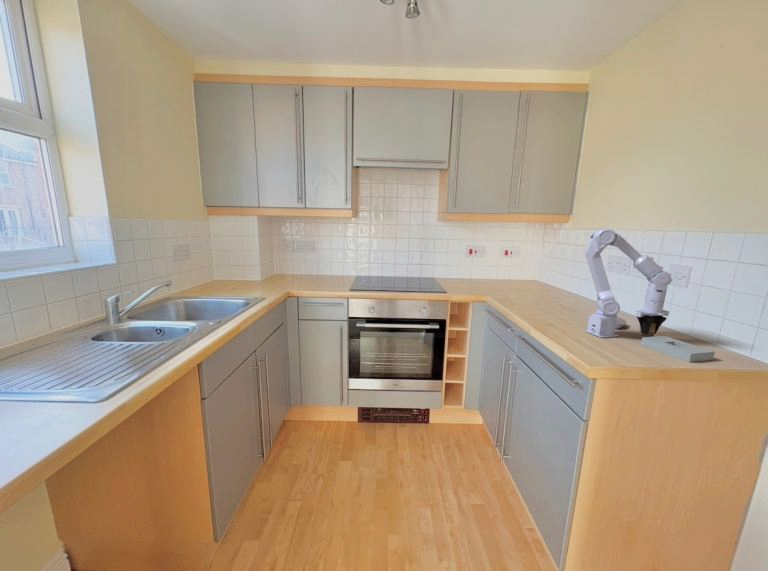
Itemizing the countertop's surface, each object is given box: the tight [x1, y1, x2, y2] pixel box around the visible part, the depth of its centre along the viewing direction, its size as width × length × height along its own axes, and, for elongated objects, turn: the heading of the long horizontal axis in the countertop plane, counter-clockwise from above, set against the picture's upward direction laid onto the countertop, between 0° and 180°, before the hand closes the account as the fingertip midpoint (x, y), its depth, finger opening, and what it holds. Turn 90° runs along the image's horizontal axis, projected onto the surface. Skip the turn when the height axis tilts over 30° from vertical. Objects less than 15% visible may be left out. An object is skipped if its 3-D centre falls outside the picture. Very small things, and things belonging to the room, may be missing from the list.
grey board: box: [640, 335, 716, 363], centre depth 114 cm, size 11×16×3 cm
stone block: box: [615, 316, 627, 330], centre depth 144 cm, size 12×5×10 cm
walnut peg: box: [641, 322, 656, 337], centre depth 125 cm, size 4×4×6 cm
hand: (648, 333), depth 126 cm, fingers closed on walnut peg, 4 cm apart
